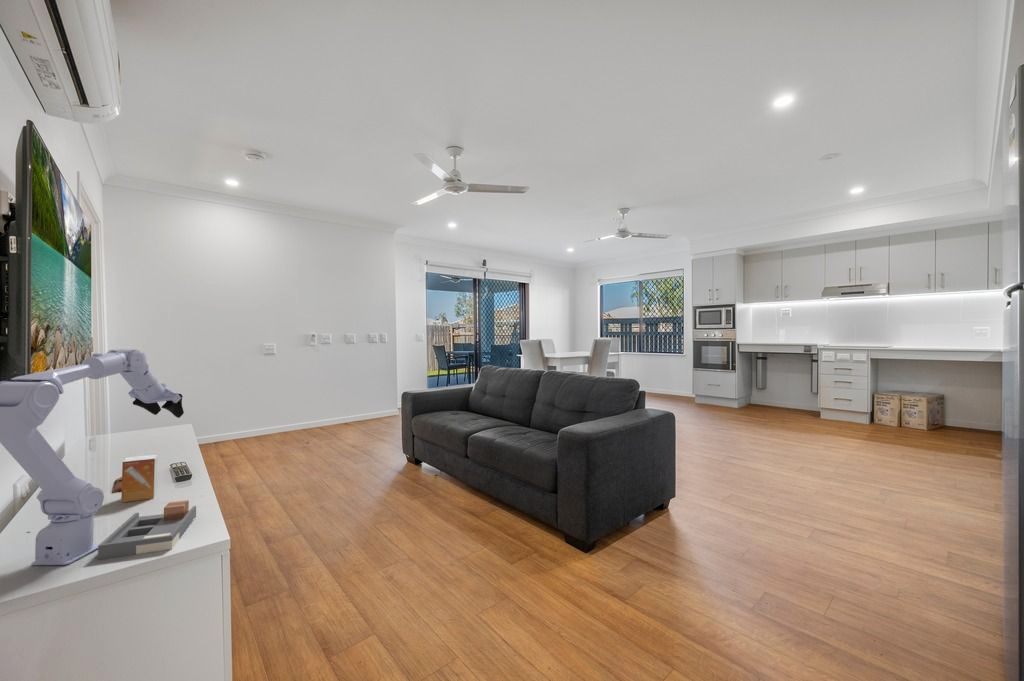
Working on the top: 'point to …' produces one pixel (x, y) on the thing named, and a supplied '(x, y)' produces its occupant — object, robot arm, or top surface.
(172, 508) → the block
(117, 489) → the sunglasses case
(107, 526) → the top surface
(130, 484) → the small box
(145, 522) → the grey divided tray
